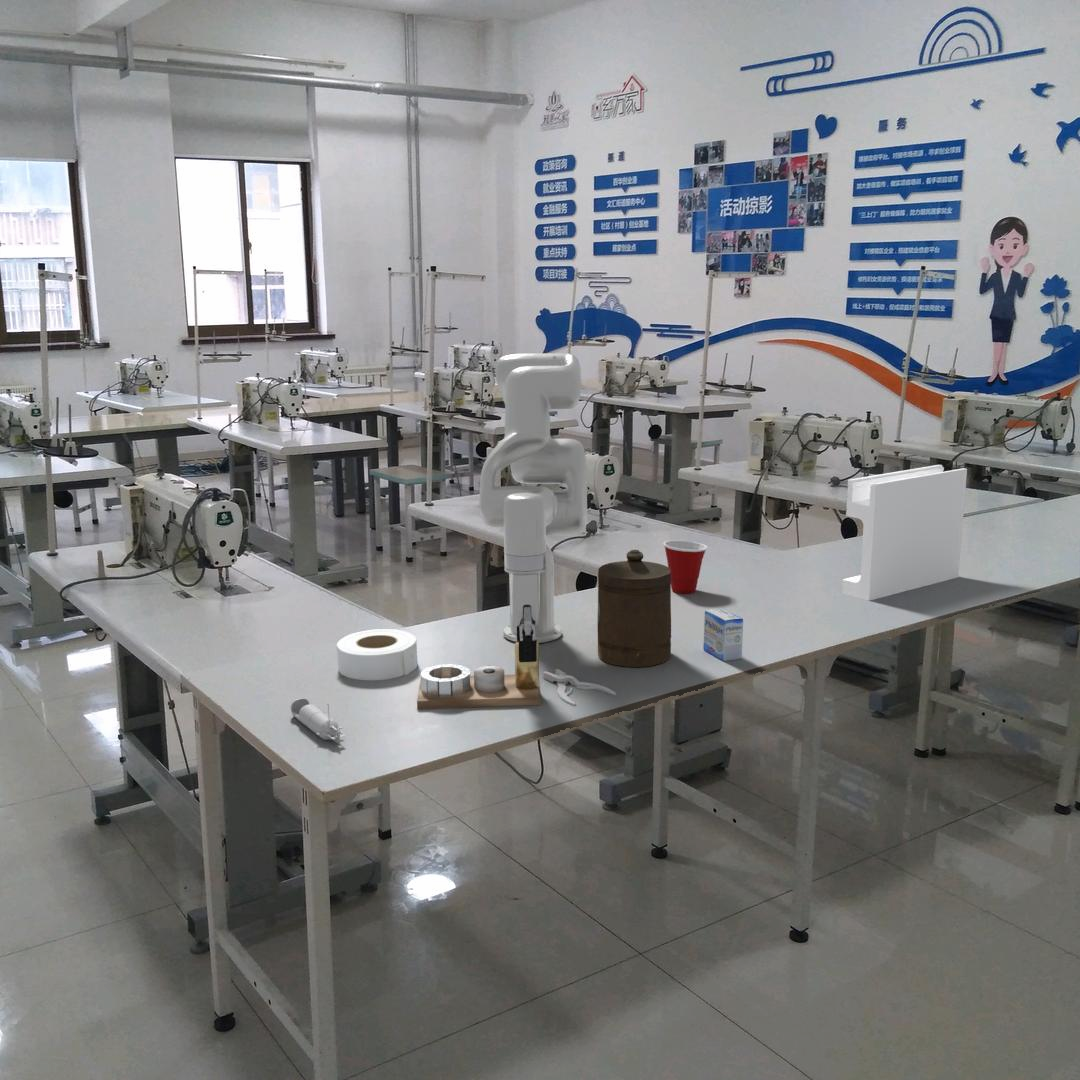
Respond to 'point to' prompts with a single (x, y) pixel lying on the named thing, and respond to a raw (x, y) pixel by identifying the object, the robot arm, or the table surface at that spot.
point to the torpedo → (316, 720)
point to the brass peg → (526, 672)
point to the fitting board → (484, 692)
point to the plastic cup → (684, 564)
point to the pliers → (565, 679)
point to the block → (907, 529)
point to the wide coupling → (445, 680)
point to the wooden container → (634, 612)
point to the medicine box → (723, 634)
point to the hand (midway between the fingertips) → (526, 653)
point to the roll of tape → (377, 654)
